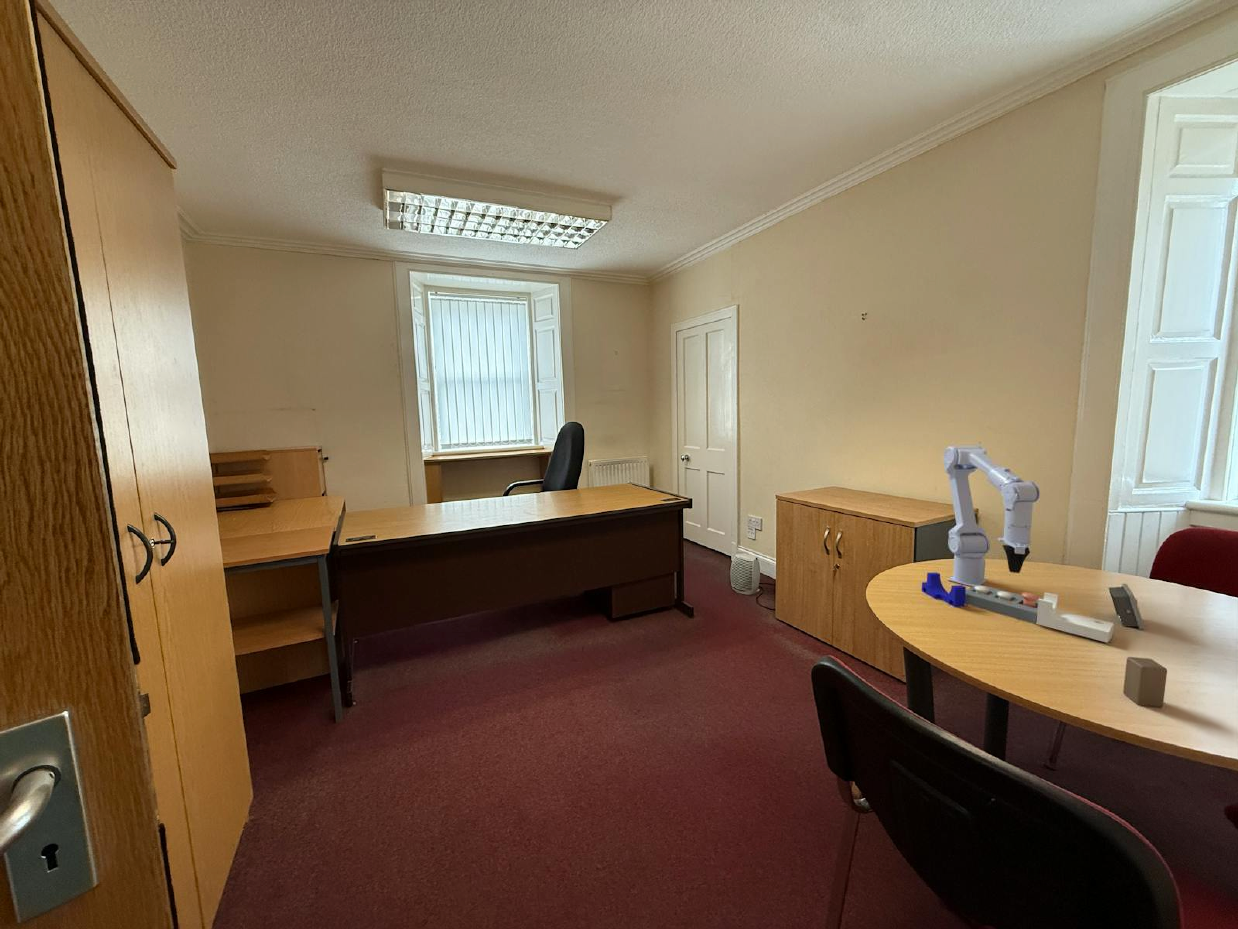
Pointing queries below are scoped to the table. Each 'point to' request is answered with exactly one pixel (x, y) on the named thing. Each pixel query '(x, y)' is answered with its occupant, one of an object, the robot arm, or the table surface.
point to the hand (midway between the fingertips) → (1014, 572)
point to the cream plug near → (982, 590)
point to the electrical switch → (1126, 606)
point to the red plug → (1029, 599)
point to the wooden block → (1145, 681)
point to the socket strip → (1001, 604)
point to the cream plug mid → (1005, 595)
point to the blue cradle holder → (944, 591)
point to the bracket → (1071, 620)
